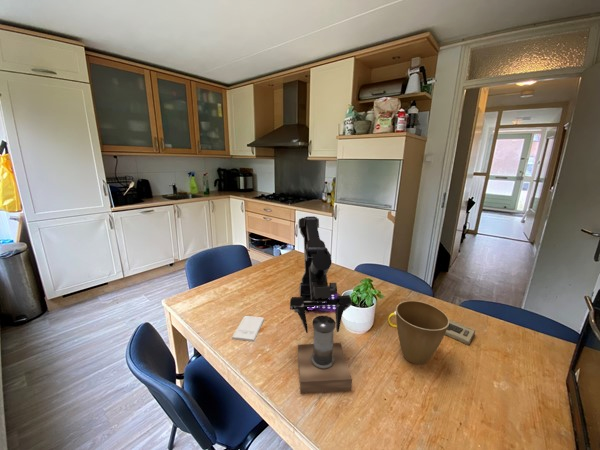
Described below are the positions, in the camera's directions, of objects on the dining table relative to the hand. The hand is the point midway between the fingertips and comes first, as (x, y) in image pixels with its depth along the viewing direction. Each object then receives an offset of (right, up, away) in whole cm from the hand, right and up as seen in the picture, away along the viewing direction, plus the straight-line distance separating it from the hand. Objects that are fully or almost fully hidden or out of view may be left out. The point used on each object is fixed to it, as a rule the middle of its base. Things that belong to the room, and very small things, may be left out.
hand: (322, 332), depth 75 cm
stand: (0, -12, +1) cm, 12 cm away
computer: (+49, -8, +21) cm, 54 cm away
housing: (0, -8, 0) cm, 8 cm away
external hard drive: (-26, -8, +20) cm, 34 cm away
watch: (+30, -7, +22) cm, 38 cm away
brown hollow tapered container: (+31, -11, +8) cm, 34 cm away
